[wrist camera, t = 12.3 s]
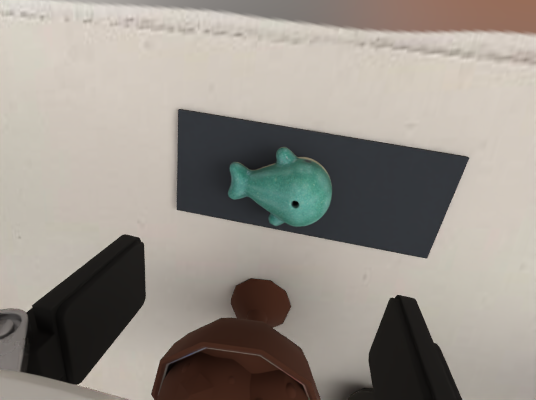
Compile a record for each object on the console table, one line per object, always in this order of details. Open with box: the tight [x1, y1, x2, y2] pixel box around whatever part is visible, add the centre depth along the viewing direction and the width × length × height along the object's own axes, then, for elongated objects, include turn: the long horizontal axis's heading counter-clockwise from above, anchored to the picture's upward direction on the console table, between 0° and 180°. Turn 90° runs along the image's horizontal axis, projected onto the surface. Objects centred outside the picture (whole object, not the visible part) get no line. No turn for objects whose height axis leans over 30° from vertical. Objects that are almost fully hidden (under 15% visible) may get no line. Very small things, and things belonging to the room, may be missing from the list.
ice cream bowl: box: [151, 278, 321, 400], centre depth 21 cm, size 11×11×15 cm
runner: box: [177, 109, 469, 258], centre depth 22 cm, size 20×8×1 cm, turn 82°
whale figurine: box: [228, 147, 332, 226], centre depth 21 cm, size 6×7×4 cm
